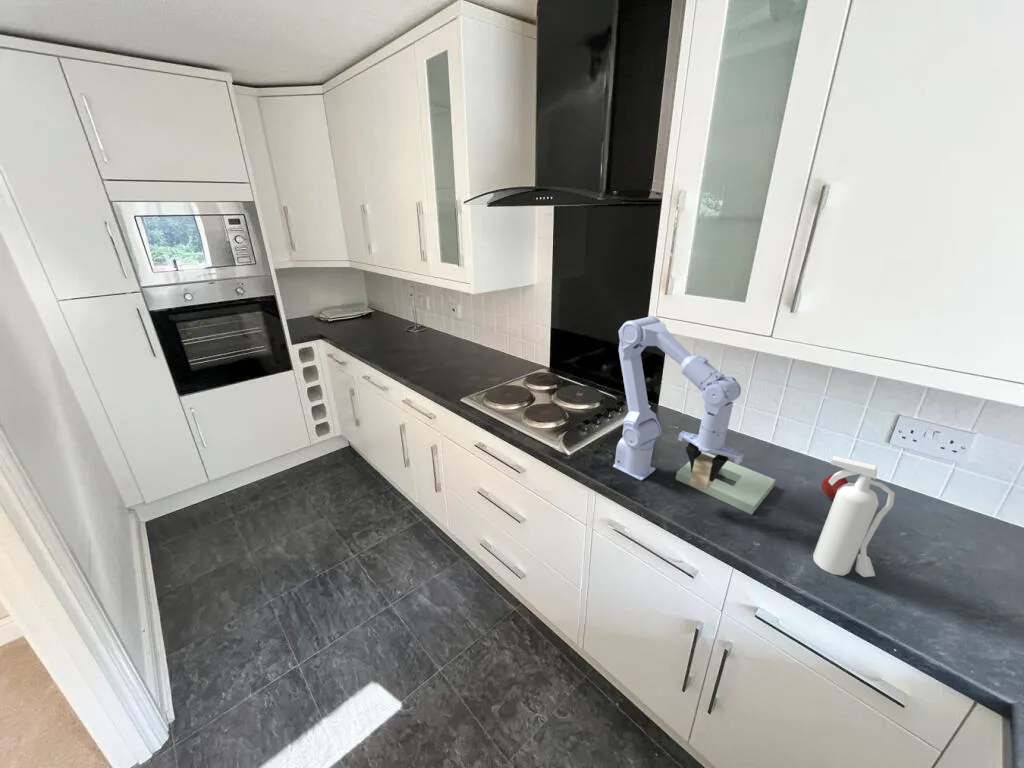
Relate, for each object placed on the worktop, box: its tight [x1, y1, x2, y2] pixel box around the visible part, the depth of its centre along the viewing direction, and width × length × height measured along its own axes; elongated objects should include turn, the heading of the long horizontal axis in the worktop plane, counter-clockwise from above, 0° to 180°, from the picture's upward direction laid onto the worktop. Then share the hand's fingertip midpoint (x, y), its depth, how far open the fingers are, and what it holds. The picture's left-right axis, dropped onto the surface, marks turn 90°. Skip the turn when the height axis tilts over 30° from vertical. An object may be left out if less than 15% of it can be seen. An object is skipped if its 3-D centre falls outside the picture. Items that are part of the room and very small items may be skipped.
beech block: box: [690, 453, 713, 490], centre depth 104 cm, size 4×4×7 cm
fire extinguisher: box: [812, 455, 896, 578], centre depth 85 cm, size 7×12×25 cm, turn 44°
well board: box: [675, 452, 776, 515], centre depth 116 cm, size 20×16×2 cm
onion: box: [821, 473, 849, 500], centre depth 109 cm, size 6×6×8 cm
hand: (703, 475), depth 104 cm, fingers closed on beech block, 4 cm apart
